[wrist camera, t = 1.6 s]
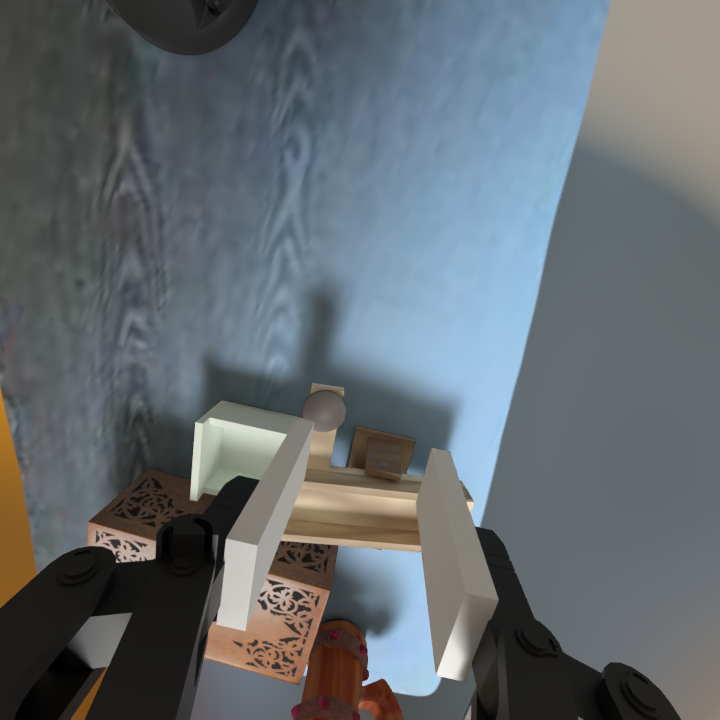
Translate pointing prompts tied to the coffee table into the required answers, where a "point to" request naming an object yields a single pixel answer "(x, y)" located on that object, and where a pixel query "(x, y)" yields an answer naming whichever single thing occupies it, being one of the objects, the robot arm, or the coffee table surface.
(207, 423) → the bin
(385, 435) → the fulcrum
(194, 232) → the coffee table surface
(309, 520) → the lever
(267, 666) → the tissue box cover
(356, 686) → the mug
